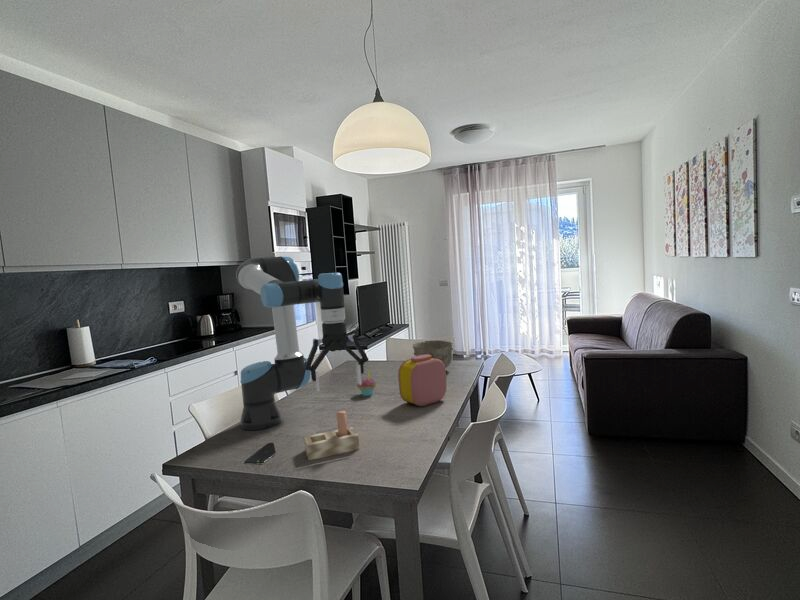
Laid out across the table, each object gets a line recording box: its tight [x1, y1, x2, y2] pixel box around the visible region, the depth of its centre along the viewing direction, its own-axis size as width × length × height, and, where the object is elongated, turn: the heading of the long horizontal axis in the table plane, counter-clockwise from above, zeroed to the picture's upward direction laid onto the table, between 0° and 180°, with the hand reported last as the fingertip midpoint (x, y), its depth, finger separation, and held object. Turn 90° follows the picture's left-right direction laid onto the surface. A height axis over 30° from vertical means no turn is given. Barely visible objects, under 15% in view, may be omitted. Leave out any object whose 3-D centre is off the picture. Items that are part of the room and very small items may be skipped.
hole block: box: [303, 426, 360, 461], centre depth 139 cm, size 16×8×5 cm, turn 110°
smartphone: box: [243, 442, 277, 464], centre depth 141 cm, size 7×1×15 cm
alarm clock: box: [397, 354, 448, 407], centre depth 181 cm, size 18×11×19 cm, turn 126°
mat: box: [316, 427, 338, 434], centre depth 152 cm, size 10×10×1 cm
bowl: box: [412, 339, 454, 369], centre depth 230 cm, size 22×22×15 cm
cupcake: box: [357, 368, 377, 397], centre depth 197 cm, size 9×8×12 cm
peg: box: [336, 410, 348, 437], centre depth 140 cm, size 3×3×12 cm
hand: (339, 387), depth 139 cm, fingers open, 13 cm apart
